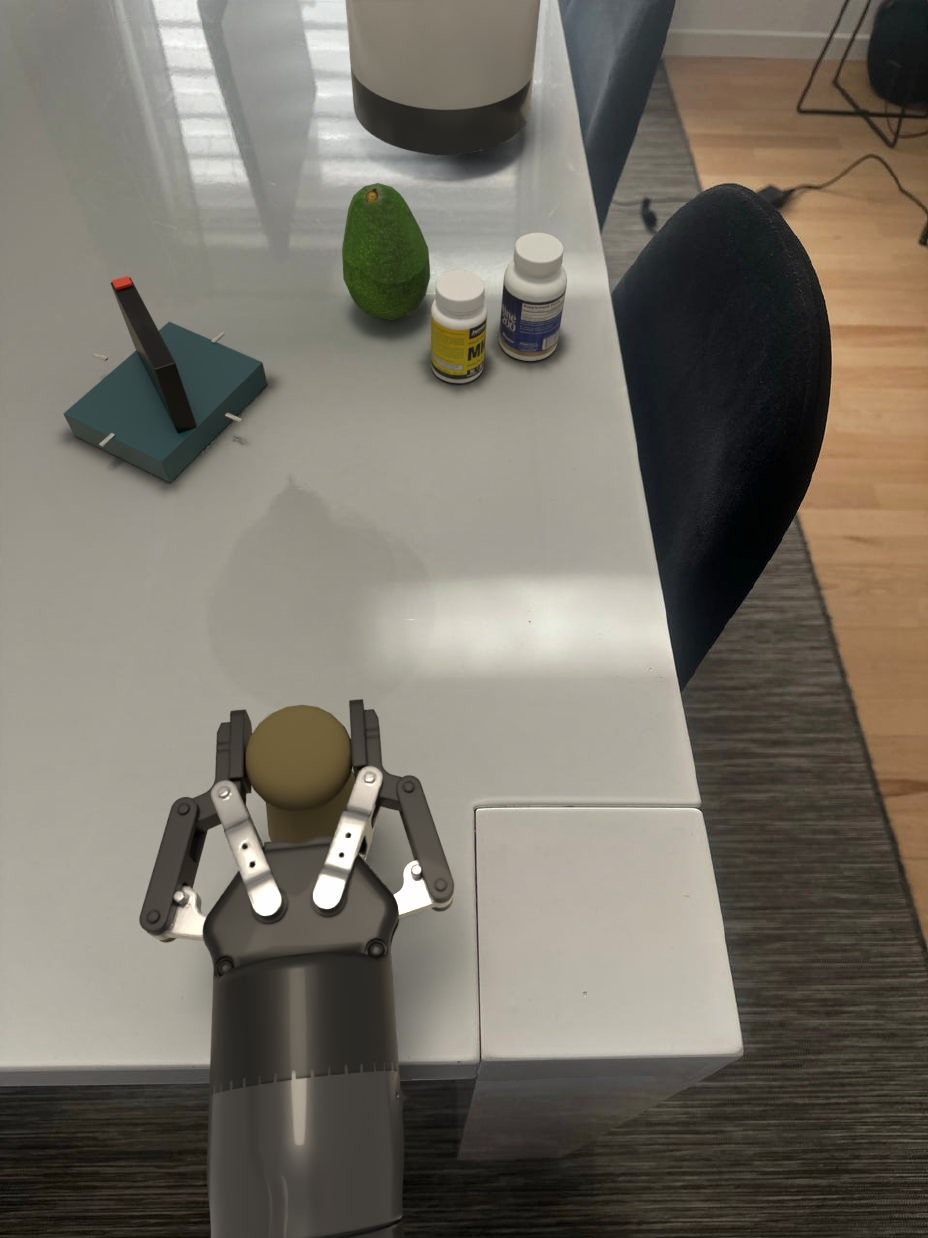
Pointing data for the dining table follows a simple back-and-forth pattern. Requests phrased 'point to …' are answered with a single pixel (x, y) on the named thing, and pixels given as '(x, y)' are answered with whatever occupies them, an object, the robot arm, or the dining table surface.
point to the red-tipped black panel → (154, 354)
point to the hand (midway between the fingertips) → (299, 712)
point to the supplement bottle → (458, 327)
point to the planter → (442, 71)
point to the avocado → (384, 254)
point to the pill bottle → (533, 298)
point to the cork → (301, 771)
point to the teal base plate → (136, 418)
